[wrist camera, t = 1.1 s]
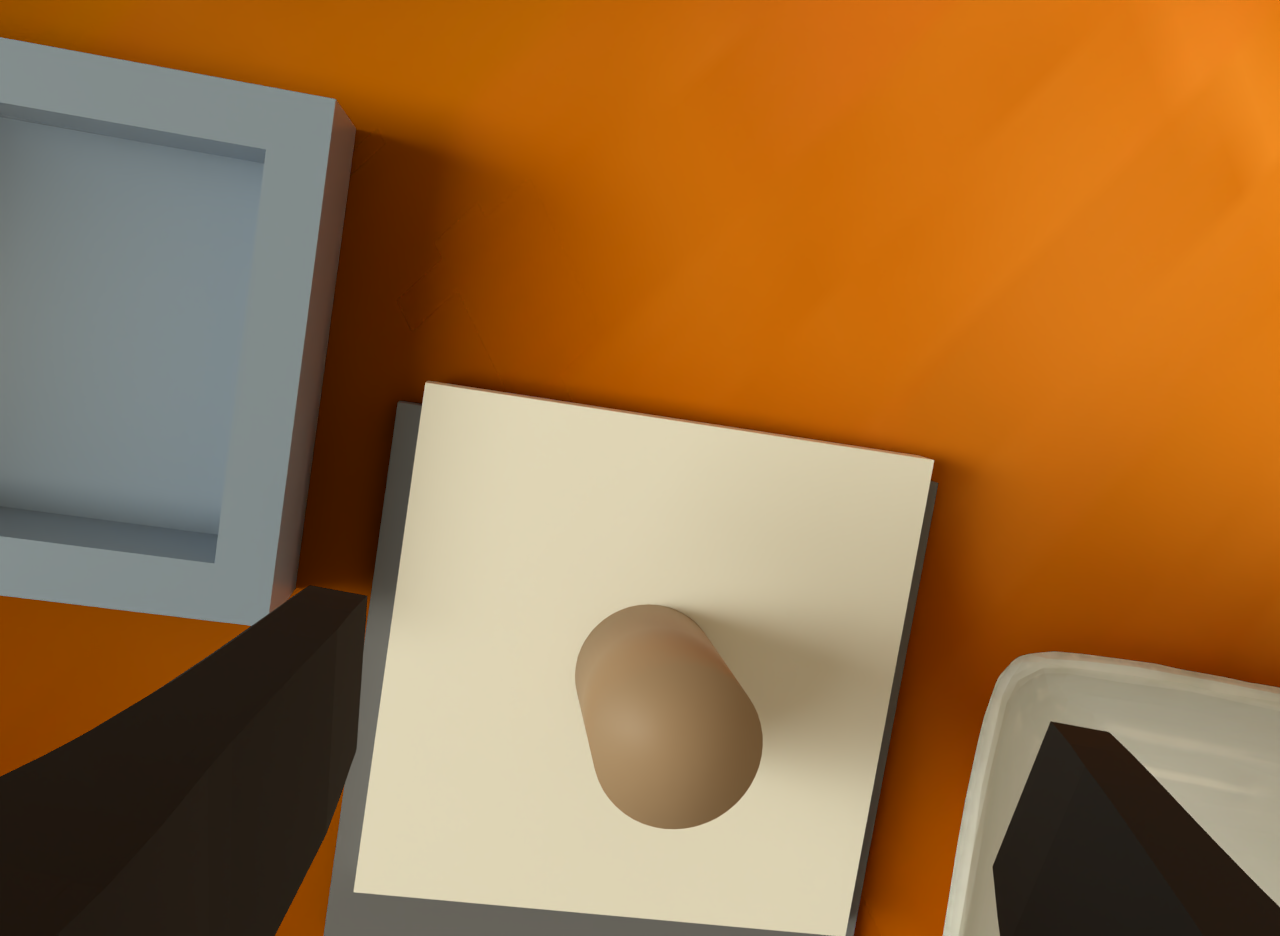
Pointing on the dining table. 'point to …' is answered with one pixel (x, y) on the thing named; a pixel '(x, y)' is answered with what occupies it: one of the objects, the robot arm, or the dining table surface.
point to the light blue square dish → (161, 330)
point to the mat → (359, 922)
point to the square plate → (1152, 732)
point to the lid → (637, 664)
